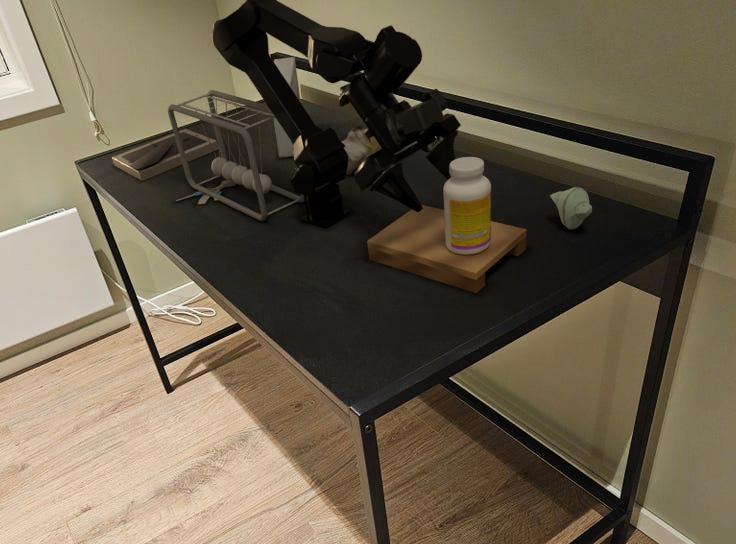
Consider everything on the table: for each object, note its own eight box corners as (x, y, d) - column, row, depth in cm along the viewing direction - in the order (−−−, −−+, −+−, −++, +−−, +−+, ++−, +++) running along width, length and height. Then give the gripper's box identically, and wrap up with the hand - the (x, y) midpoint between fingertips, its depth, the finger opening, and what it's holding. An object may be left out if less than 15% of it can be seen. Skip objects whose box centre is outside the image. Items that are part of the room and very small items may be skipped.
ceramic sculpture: (315, 128, 133) (377, 110, 138) (319, 170, 138) (379, 151, 143) (343, 141, 125) (407, 122, 130) (346, 185, 130) (408, 164, 135)
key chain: (232, 179, 143) (231, 175, 142) (251, 188, 137) (251, 184, 136) (175, 202, 137) (174, 199, 137) (193, 213, 132) (192, 209, 131)
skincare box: (303, 155, 146) (290, 81, 136) (279, 159, 147) (264, 86, 137) (306, 123, 163) (294, 55, 153) (284, 126, 163) (271, 58, 153)
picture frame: (142, 181, 149) (219, 149, 158) (138, 169, 148) (216, 137, 156) (114, 165, 160) (188, 136, 168) (110, 154, 158) (184, 125, 167)
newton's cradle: (188, 186, 142) (164, 103, 132) (228, 169, 147) (208, 87, 136) (265, 225, 122) (245, 130, 111) (309, 203, 127) (294, 110, 116)
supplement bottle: (498, 249, 96) (500, 165, 89) (456, 261, 96) (453, 177, 88) (479, 230, 102) (478, 149, 94) (438, 241, 101) (434, 160, 93)
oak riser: (369, 259, 107) (366, 240, 105) (420, 222, 114) (419, 203, 112) (476, 293, 95) (476, 272, 93) (525, 249, 102) (526, 229, 100)
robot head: (544, 223, 107) (546, 184, 103) (564, 215, 108) (567, 176, 104) (579, 241, 101) (583, 201, 97) (600, 233, 102) (605, 192, 98)
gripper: (361, 99, 86) (430, 197, 86) (450, 56, 95) (512, 145, 95) (327, 145, 96) (388, 233, 96) (410, 102, 104) (466, 183, 105)
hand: (440, 198), depth 98 cm, fingers open, 9 cm apart
